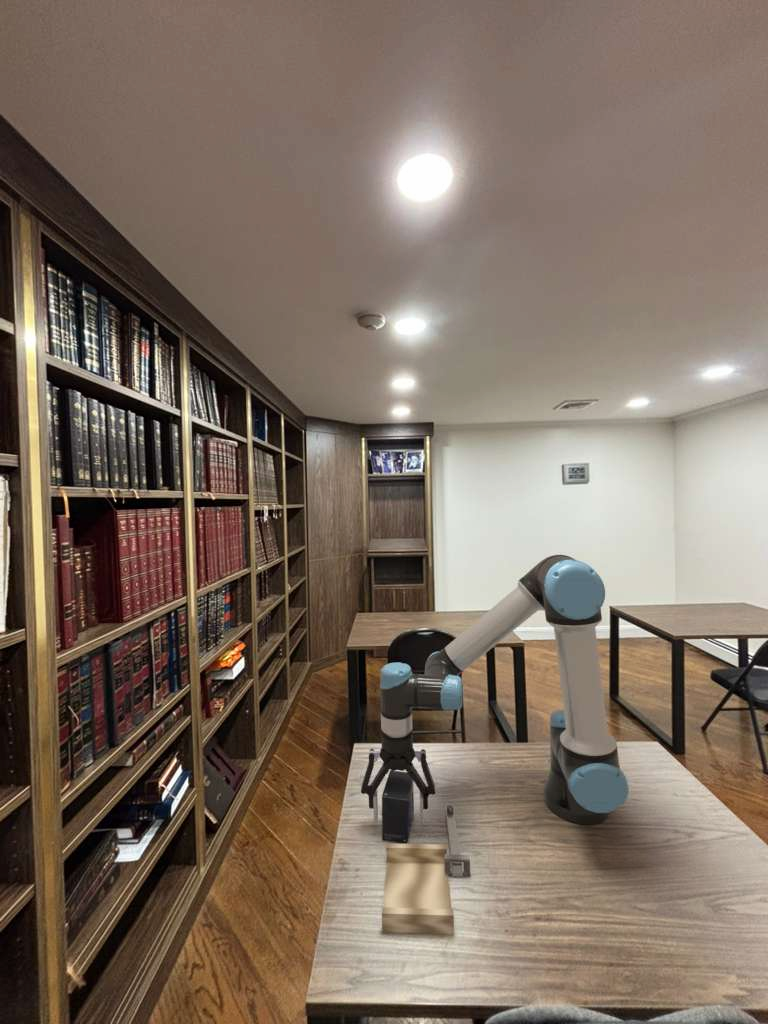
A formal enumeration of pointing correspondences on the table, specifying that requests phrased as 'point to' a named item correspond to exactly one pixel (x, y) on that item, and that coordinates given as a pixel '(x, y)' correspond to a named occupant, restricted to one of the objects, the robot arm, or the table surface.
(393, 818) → the small box
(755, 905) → the table surface
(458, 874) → the lock bolt
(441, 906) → the cradle
